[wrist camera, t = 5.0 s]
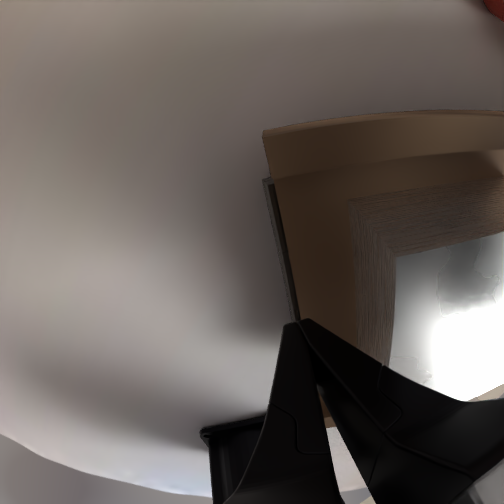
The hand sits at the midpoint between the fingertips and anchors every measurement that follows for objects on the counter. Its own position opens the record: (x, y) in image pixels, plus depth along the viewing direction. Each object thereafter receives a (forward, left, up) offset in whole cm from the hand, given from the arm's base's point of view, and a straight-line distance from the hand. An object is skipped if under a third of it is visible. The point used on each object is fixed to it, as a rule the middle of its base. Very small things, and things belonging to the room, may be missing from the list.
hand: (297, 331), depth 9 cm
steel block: (+6, 0, -1) cm, 6 cm away
